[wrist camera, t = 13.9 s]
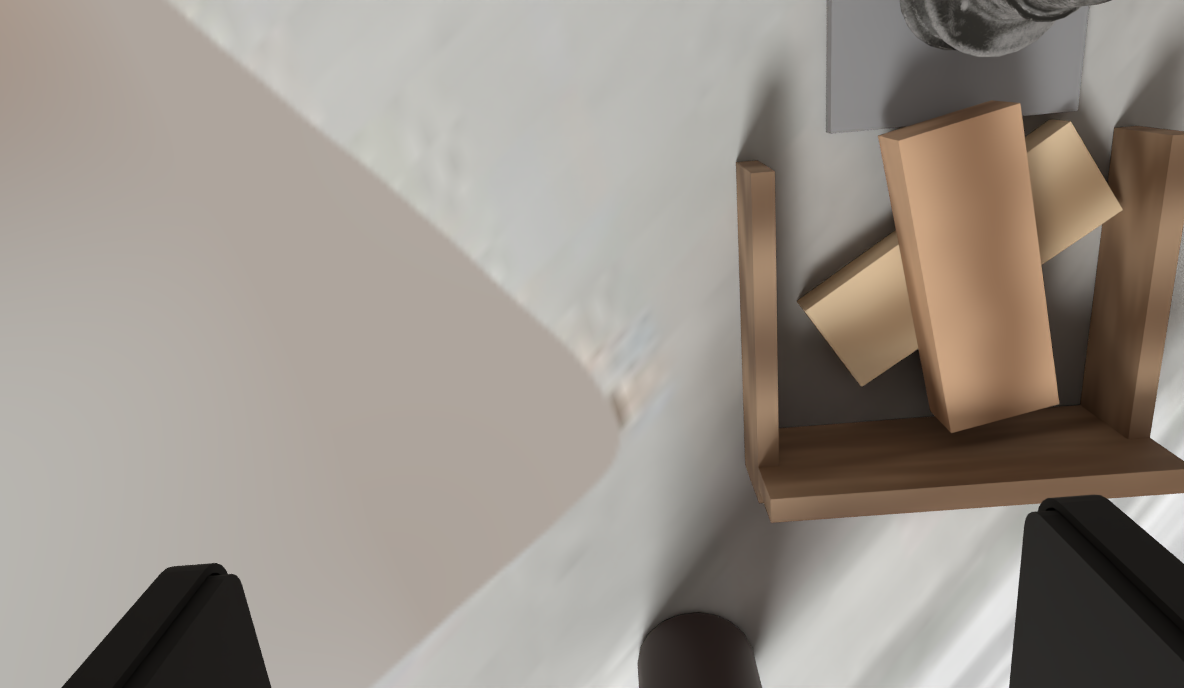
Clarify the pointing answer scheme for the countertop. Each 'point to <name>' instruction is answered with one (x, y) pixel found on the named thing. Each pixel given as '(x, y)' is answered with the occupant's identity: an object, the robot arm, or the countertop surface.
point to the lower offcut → (876, 278)
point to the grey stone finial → (985, 22)
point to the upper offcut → (972, 263)
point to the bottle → (697, 655)
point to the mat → (938, 70)
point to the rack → (1001, 448)
